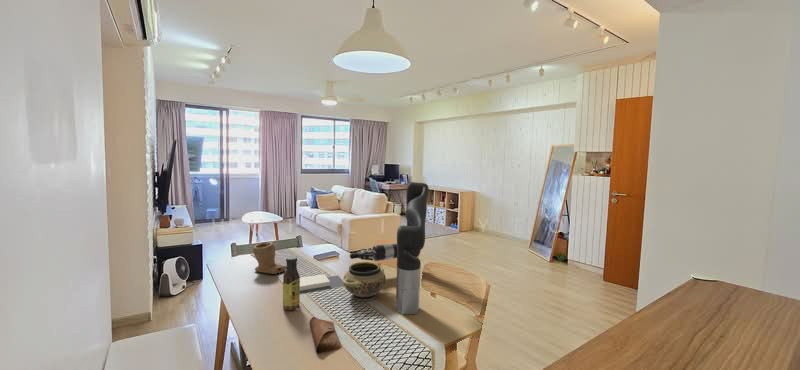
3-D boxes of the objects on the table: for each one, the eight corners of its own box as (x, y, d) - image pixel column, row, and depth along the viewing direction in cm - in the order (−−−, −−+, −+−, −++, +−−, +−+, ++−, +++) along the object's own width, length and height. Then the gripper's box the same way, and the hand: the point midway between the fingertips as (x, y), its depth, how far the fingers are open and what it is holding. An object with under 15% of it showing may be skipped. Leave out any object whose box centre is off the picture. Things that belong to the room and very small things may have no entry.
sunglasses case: (344, 348, 102) (333, 332, 100) (324, 363, 100) (313, 348, 98) (333, 321, 118) (323, 307, 117) (316, 333, 116) (306, 319, 115)
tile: (324, 274, 157) (294, 278, 150) (330, 281, 148) (298, 286, 141) (324, 278, 157) (294, 283, 150) (330, 286, 148) (298, 292, 141)
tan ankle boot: (248, 273, 163) (247, 243, 162) (267, 266, 174) (266, 238, 172) (270, 278, 157) (270, 248, 155) (288, 271, 167) (288, 242, 166)
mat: (338, 276, 162) (338, 275, 162) (347, 286, 150) (347, 285, 150) (287, 284, 151) (287, 283, 151) (293, 295, 138) (292, 294, 138)
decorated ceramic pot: (371, 289, 154) (365, 257, 155) (401, 289, 144) (394, 255, 145) (332, 308, 134) (326, 272, 135) (364, 310, 124) (357, 270, 125)
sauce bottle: (294, 312, 124) (294, 261, 122) (279, 310, 125) (279, 260, 124) (302, 304, 131) (302, 256, 129) (288, 302, 132) (288, 254, 130)
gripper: (377, 242, 170) (346, 245, 162) (389, 248, 158) (355, 252, 150) (377, 256, 171) (345, 260, 162) (388, 263, 159) (355, 268, 151)
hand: (350, 256), depth 156 cm, fingers closed
